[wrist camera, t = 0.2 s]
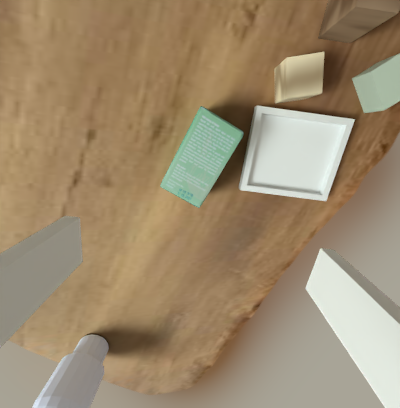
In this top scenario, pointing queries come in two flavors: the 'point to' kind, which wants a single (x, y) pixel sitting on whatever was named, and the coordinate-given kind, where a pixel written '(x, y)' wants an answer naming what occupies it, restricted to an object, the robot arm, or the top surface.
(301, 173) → the tray
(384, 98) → the sage block
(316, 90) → the oak block
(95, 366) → the soap bottle
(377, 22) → the walnut block
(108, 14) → the top surface
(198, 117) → the box
